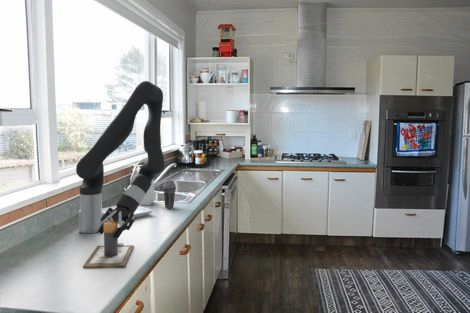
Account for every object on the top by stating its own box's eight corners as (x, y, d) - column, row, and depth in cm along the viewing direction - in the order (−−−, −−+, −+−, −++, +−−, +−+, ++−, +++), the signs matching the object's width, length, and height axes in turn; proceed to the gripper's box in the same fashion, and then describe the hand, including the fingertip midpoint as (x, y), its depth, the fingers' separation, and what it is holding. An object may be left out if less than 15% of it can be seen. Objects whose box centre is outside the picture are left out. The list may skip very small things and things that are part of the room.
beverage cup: (159, 208, 214) (160, 173, 212) (168, 205, 220) (168, 171, 218) (170, 210, 211) (170, 174, 208) (178, 207, 217) (178, 172, 215)
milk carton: (153, 202, 227) (154, 170, 225) (150, 205, 220) (150, 172, 218) (142, 202, 228) (142, 170, 225) (138, 204, 221) (138, 172, 218)
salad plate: (129, 208, 213) (129, 202, 213) (153, 216, 200) (153, 209, 200) (94, 216, 197) (94, 209, 196) (118, 224, 184) (118, 217, 183)
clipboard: (83, 268, 132) (82, 263, 132) (97, 247, 152) (97, 243, 152) (124, 267, 133) (124, 262, 133) (133, 247, 153) (133, 242, 153)
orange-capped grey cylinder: (102, 257, 140) (102, 225, 138) (105, 252, 145) (105, 221, 143) (116, 256, 140) (116, 225, 139) (119, 251, 145) (118, 221, 144)
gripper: (113, 191, 150) (88, 226, 142) (138, 196, 142) (113, 234, 134) (124, 201, 155) (100, 236, 147) (149, 207, 147) (125, 244, 139)
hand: (107, 235), depth 140 cm, fingers open, 8 cm apart
